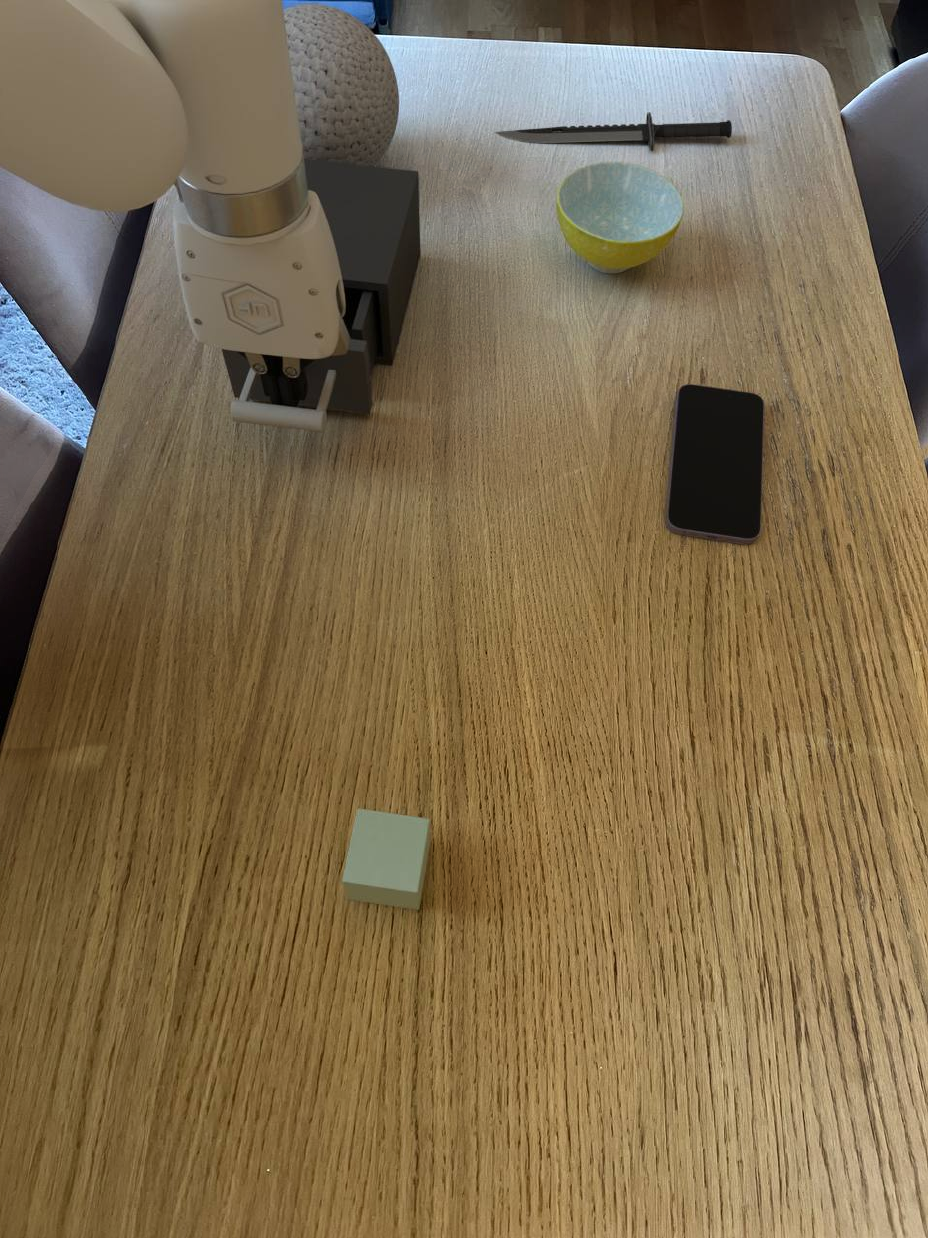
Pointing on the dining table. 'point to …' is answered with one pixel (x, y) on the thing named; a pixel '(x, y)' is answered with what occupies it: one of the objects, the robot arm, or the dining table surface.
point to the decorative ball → (340, 86)
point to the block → (387, 859)
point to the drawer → (317, 375)
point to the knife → (620, 132)
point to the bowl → (618, 214)
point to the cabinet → (373, 235)
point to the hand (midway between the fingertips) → (288, 400)
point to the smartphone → (716, 465)
